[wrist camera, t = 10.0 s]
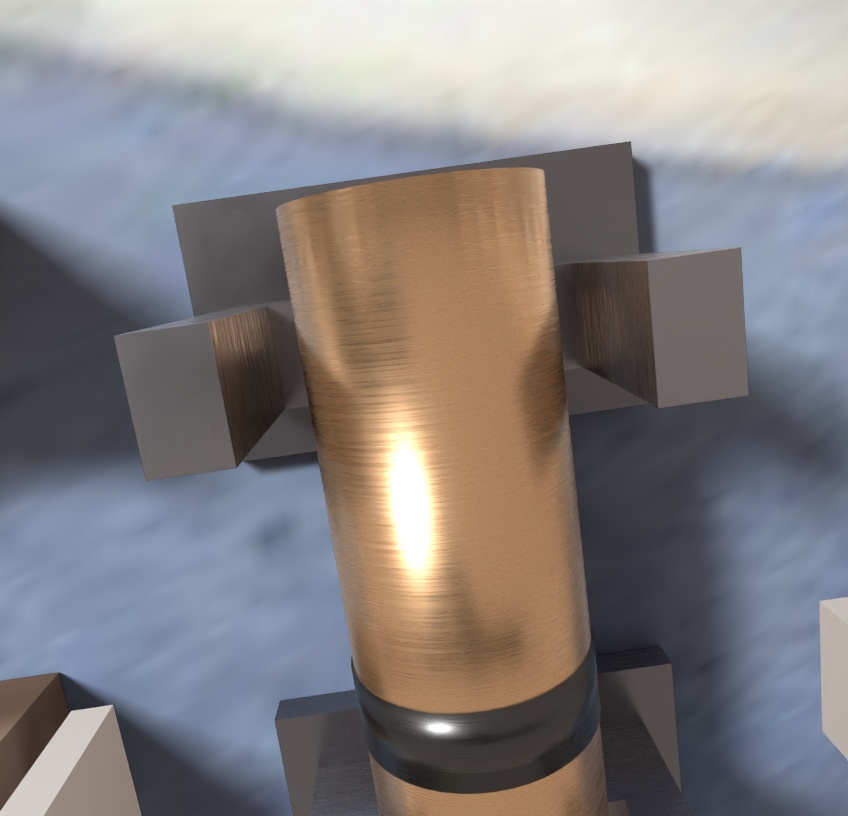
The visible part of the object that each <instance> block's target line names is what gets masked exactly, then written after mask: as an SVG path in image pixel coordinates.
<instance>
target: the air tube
mask: <svg viewBox="0 0 848 816" xmlns="http://www.w3.org/2000/svg"><path fill="white" fill-rule="evenodd" d="M275 211H276V217H277V223H278V228H279V234H280V240H281V246H282V252H283V257H284V263H285V269H286V275H287V281H288V286H289V292H290V298H291V304H292V310H293V316H294V321H295V327H296V333H297V339H298V345H299V350H300V356H301V362H302V368H303V374H304V379H305V385H306V391H307V397H308V403H309V409H310V414H311V420H312V426H313V432H314V438H315V443H316V449H317V455H318V461H319V467H320V472H321V478H322V484H323V490H324V496H325V502H326V507H327V513H328V519H329V525H330V531H331V536H332V542H333V548H334V554H335V560H336V565H337V571H338V577H339V583H340V589H341V595H342V600H343V606H344V612H345V618H346V624H347V629H348V635H349V641H350V647H351V653H352V657H351V667H352V673H353V679H354V684H355V690H356V696H357V702H358V708H359V713H360V719H361V725H362V731H363V736H364V740H365V744H366V746H367V748H368V751H369V757H370V763H371V769H372V775H373V781H374V786H375V792H376V798H377V804H378V810H379V815H380V816H609V809H608V799H607V789H606V779H605V769H604V759H603V749H602V740H601V730H600V715H601V705H600V695H599V685H598V675H597V665H596V655H595V645H594V636H593V630H592V628H591V625H590V621H589V611H588V601H587V591H586V581H585V571H584V561H583V551H582V541H581V532H580V522H579V512H578V502H577V492H576V482H575V472H574V462H573V452H572V442H571V432H570V423H569V413H568V403H567V393H566V383H565V373H564V363H563V353H562V343H561V333H560V324H559V314H558V304H557V294H556V284H555V274H554V264H553V254H552V244H551V234H550V224H549V215H548V205H547V195H546V185H545V175H544V171H543V170H542V169H537V168H523V167H514V168H490V169H477V170H466V171H455V172H446V173H438V174H429V175H422V176H414V177H407V178H400V179H394V180H387V181H381V182H375V183H369V184H364V185H358V186H353V187H347V188H343V189H338V190H333V191H328V192H324V193H319V194H315V195H311V196H307V197H303V198H300V199H297V200H293V201H290V202H288V203H285V204H283V205H280V206H279V207H277V208H276V210H275Z"/></svg>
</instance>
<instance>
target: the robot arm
mask: <svg viewBox="0 0 848 816" xmlns="http://www.w3.org/2000/svg"><path fill="white" fill-rule="evenodd" d="M819 606H820V649H821V693H822V732H823V733H824V734H825V735H826V736H827V737H828V738H829V739H830V741H831V742H832V743H833V744H834V745H835V746H836V747H837V748H838V749H839V751H840V752H841V753H842V754H843V755H844V756H845V757H846V758H847V759H848V597H844V598H837V599H831V600H824V601H819ZM0 816H141V812H140V808H139V804H138V800H137V796H136V792H135V788H134V784H133V780H132V777H131V773H130V769H129V765H128V761H127V757H126V753H125V749H124V745H123V742H122V738H121V734H120V730H119V726H118V722H117V718H116V714H115V710H114V706H113V705H108V706H101V707H95V708H88V709H81V710H74V711H71V712H70V714H69V715H68V716H67V718H66V719H65V721H64V722H63V723H62V725H61V726H60V728H59V729H58V730H57V732H56V733H55V735H54V736H53V738H52V739H51V740H50V742H49V743H48V745H47V746H46V747H45V749H44V750H43V752H42V753H41V754H40V756H39V757H38V759H37V760H36V762H35V763H34V764H33V766H32V767H31V769H30V770H29V771H28V773H27V774H26V776H25V777H24V778H23V780H22V781H21V783H20V784H19V785H18V787H17V788H16V790H15V791H14V793H13V794H12V795H11V797H10V798H9V800H8V801H7V802H6V804H5V805H4V807H3V808H2V809H1V811H0Z"/></svg>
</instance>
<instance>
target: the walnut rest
mask: <svg viewBox="0 0 848 816" xmlns="http://www.w3.org/2000/svg"><path fill="white" fill-rule="evenodd" d="M68 715H69V711H68V707H67V703H66V699H65V695H64V692H63V688H62V684H61V680H60V676H59V673H52V674H45V675H38V676H31V677H24V678H17V679H10V680H3V681H0V811H1V809H2V808H3V807H4V805H5V804H6V802H7V801H8V800H9V798H10V797H11V795H12V794H13V793H14V791H15V790H16V788H17V787H18V785H19V784H20V783H21V781H22V780H23V778H24V777H25V776H26V774H27V773H28V771H29V770H30V769H31V767H32V766H33V764H34V763H35V762H36V760H37V759H38V757H39V756H40V754H41V753H42V752H43V750H44V749H45V747H46V746H47V745H48V743H49V742H50V740H51V739H52V738H53V736H54V735H55V733H56V732H57V730H58V729H59V728H60V726H61V725H62V723H63V722H64V721H65V719H66V718H67V716H68Z"/></svg>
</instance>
